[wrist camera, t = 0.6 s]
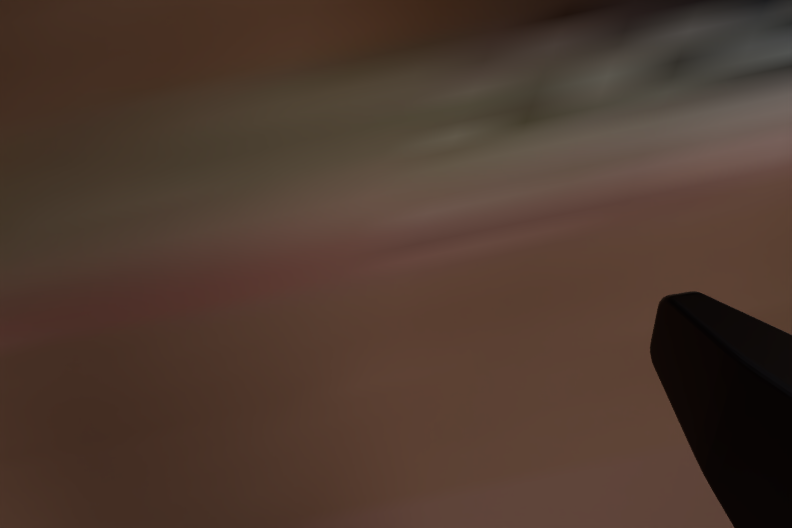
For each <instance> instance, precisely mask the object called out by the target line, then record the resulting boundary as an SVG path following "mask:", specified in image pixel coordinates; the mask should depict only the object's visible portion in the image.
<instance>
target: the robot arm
mask: <svg viewBox="0 0 792 528" xmlns="http://www.w3.org/2000/svg"><path fill="white" fill-rule="evenodd" d="M650 354H651V359H652V363H653V365H654V368H655V370H656V372H657V374H658V377H659V379H660V381H661V383H662V385H663V388H664V390H665V392H666V394H667V396H668V399H669V401H670V403H671V405H672V407H673V410H674V412H675V414H676V416H677V418H678V421H679V423H680V425H681V427H682V430H683V432H684V434H685V436H686V438H687V441H688V443H689V445H690V447H691V449H692V452H693V454H694V456H695V458H696V460H697V462H698V464H699V466H700V468H701V470H702V472H703V474H704V476H705V478H706V480H707V481H708V483H709V485H710V487H711V488H712V490H713V492H714V494H715V495H716V497H717V499H718V500H719V502H720V504H721V506H722V507H723V509H724V511H725V512H726V514H727V516H728V517H729V519H730V521H731V523H732V524H733V526H734V528H792V335H791V334H788V333H786V332H784V331H782V330H780V329H778V328H775V327H773V326H771V325H769V324H767V323H765V322H763V321H760V320H758V319H756V318H754V317H752V316H750V315H747V314H745V313H743V312H741V311H739V310H737V309H734V308H732V307H730V306H728V305H726V304H724V303H722V302H719V301H717V300H715V299H713V298H711V297H709V296H706V295H704V294H702V293H699V292H685V293H679V294H673V295H668V296H665V297H663V298H662V299H661V301H660V302H659V305H658V309H657V314H656V319H655V324H654V329H653V334H652V339H651V345H650Z"/></svg>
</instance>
